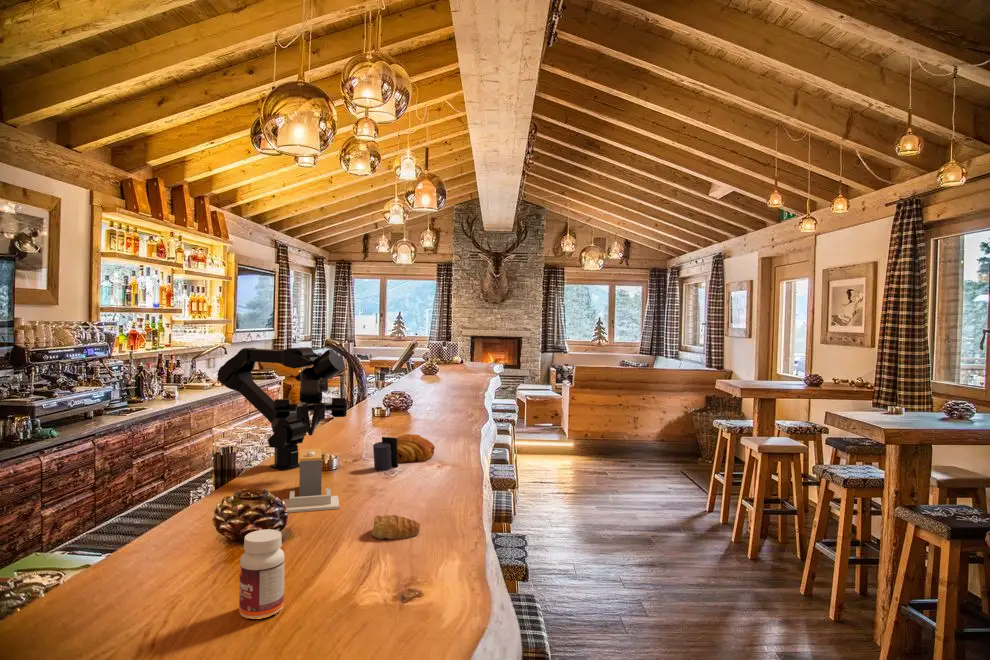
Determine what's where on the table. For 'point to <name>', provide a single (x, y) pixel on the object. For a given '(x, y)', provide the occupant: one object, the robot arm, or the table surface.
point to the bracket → (311, 502)
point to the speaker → (385, 454)
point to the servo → (310, 472)
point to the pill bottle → (261, 574)
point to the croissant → (414, 448)
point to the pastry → (394, 527)
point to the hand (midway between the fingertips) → (310, 434)
